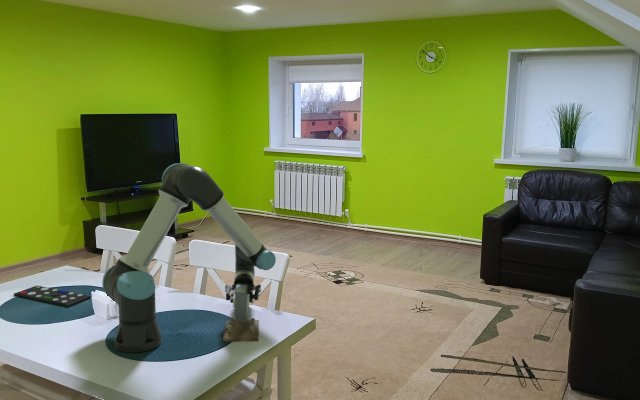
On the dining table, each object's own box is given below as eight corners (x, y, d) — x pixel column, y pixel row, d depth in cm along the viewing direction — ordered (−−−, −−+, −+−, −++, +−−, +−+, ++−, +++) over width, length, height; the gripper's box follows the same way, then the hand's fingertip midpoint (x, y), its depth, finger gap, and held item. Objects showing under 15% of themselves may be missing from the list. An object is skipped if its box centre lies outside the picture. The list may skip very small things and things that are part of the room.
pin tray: (222, 341, 189) (222, 331, 188) (226, 323, 204) (226, 314, 204) (258, 340, 190) (258, 331, 189) (258, 322, 206) (258, 313, 205)
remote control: (37, 288, 238) (36, 284, 238) (90, 299, 227) (90, 294, 226) (14, 296, 228) (13, 292, 228) (69, 308, 217) (68, 303, 216)
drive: (235, 321, 191) (234, 293, 189) (236, 310, 201) (236, 284, 199) (246, 321, 191) (246, 293, 190) (247, 310, 201) (247, 283, 199)
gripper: (266, 291, 215) (265, 314, 192) (221, 292, 213) (216, 315, 191) (266, 272, 214) (265, 293, 191) (221, 273, 212) (215, 294, 189)
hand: (241, 304), depth 191 cm, fingers closed on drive, 4 cm apart
